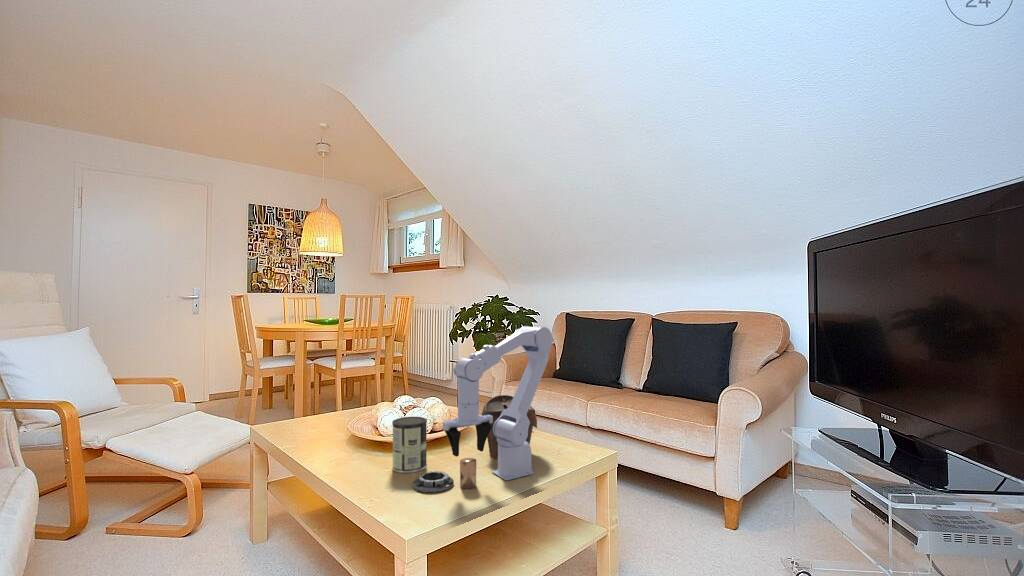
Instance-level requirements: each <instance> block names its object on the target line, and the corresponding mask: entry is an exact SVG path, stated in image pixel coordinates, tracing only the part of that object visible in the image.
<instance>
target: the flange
mask: <svg viewBox="0 0 1024 576" xmlns="http://www.w3.org/2000/svg"><path fill="white" fill-rule="evenodd" d="M454 485H455V484H454V479H453V478H452V477H451V476H449V473H446V472H445V471H440V470H433V471H432V470H431V471H426V472H423V473H421V474H420V475H419V476H418V477H417V478H416V479H415V480H414V481H412V488H413V490H414V491H416V492H418V493H422V494H438V493H442V492H447V491H449V490H450V489H452V488H453V487H454Z"/></svg>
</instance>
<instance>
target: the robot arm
mask: <svg viewBox="0 0 1024 576" xmlns="http://www.w3.org/2000/svg"><path fill="white" fill-rule="evenodd" d="M554 341H555V340H554V337H553V334H552V331H551V330H550V328H548V327H546V326H541V327H540V326H530V325H529V326H528V325H524V326H522V327H520V328H517V329H516V330H515V332H514V333H512V334H510V335H508V337H506V338H505V339H503V340H502V341H500V342H499V343H498V344H497V343H496V345H492V344H484V345H483V346H482V349H480V350H478V351H476V352H473V353H470V354H469V356H468V358H467V357H462V358H460V359H458V361H457V363H456V364H455V367H454V368H453V374H454V375H455V377H456V380H457V382H456V383H457V418H453V419H450V420H445V421H442V430H444V433H445V434H446V436H447V439H448V440H449V441H448V442H449V444H450V447H451V450H452V455H453V456H454V457H456V458H457V457H459V455H460V440H461V439H460V438H461V434H462V432H461V431H459V428H465V427H470V426H471V427H472V426H475V430H476V449H477V450H478V451H480V452H484V450H485V449H484V448H485V445H486V441H487V436H488V434H489V432H490V430H491V425H490V424H489V423H493V416H491V415H482V414H481V415H479V414H480V402H479V401H480V379H481V378H482V377H483V375H484V372H486V371H488V370H490V369H491V368H493V367H495V366H496V365H498V364H499V363H500V361H501V359H502V357H503V356H504V355H506V354H508V353H510V352H512V351H514V350H516V349H518V348H519V347H521V348H522V349H523V351H524V352H525V354H526V355H527V356H528V362H527V364H526V367H525V369H524V371H523V374H522V376H521V379H520V381H519V383H518V385H517V388H516V390H515V394H514V395H513V400H512V402H511V404H510V407H509V408H507V409H506V410H504V411H502V413H501V415H500V417H499V418H498V419H497V420H496V421H495V423H494V425H493V433H494V435H495V437H497V442H498V458H497V469H494V470H491V472H492V474H494V475H496V476H497V477H500V478H501V479H503V480H505V481H510V480H511V481H512V480H514V479H515V480H516V479H518V478H521V477H525V476H530V475H532V474H533V473H534V472H533V471H532V448H531V445H529V443H528V442H527V441H526V439H527V436H528V428H529V425H530V421H529V419H528V417H527V412H528V409H529V407H530V406H531V404H532V402H533V400H534V397H535V394H536V392H537V390H538V387H539V384H540V382H541V380H542V377H543V375H544V372H545V370H546V367H547V364H548V362H549V358H550V350H551V348H552V347H553V346H552V345H553V344H554Z"/></svg>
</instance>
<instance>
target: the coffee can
mask: <svg viewBox="0 0 1024 576" xmlns="http://www.w3.org/2000/svg"><path fill="white" fill-rule="evenodd" d="M427 422H428V419H427V418H425V417H422V416H404V417H399V418H396V419H393V420H392V421H391V423H392V471H394V472H395V473H401V474H412V473H418V472H421V471H423V470H425V469H426V468H427V466H428V465H427V424H428V423H427Z"/></svg>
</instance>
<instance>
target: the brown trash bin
mask: <svg viewBox="0 0 1024 576" xmlns="http://www.w3.org/2000/svg"><path fill="white" fill-rule="evenodd" d="M513 397H514V395H513V396H512V395H508V394H507V395H506V394H505V395H504V394H500V395H496V396H493V397H491V398H490V399H489V400H487V401H486V402H485V404H484V406H483V409H482V411H481V415H491V416H493V423H489V424H490V425H491V430H490V432H489V434H488V436H487V438H486V441H487V445H488V452H489V456H490V457H492V458H494V459H498V442H497V437H495V435H494V433H493V425H494V423H495V421H496V420H497V419H498V418H499V417H500V415H501V413H502V411H504V410H506V409H507V408H509V407H510V404H511V402H512V400H513ZM527 417H528V419H529V421H530V425H529V428H528V436H527V439H526V441H527V442H528V443H529V445H530V444H531V439H532V433H535V432H534V431H533V429H534V428H536V429H538V420H537V415H536V410H535V409H534V408H533V407H532V406H531V405H530V407H529V409H528V412H527ZM530 446H531V445H530Z"/></svg>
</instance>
